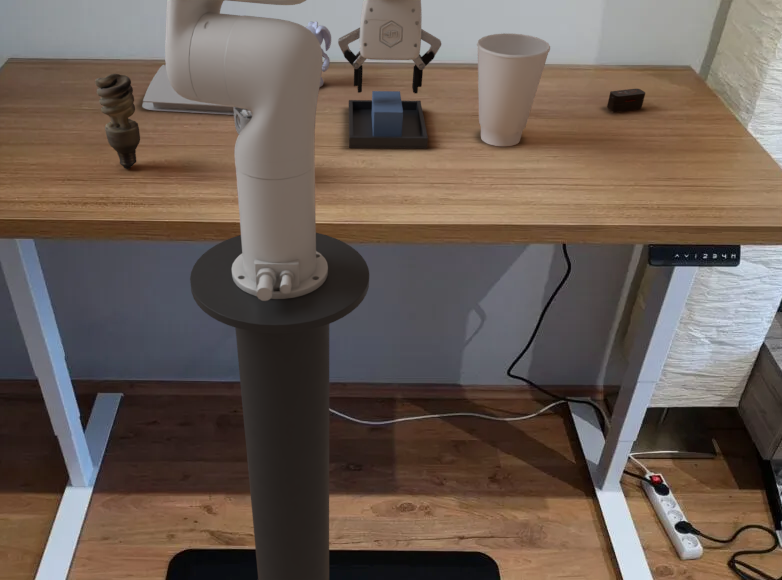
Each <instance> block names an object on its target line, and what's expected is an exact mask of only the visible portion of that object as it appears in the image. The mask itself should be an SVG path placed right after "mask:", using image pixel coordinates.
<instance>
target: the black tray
mask: <svg viewBox="0 0 782 580" xmlns="http://www.w3.org/2000/svg"><path fill="white" fill-rule="evenodd" d="M401 102H402V108H403V122H402V136H373V128H372V99H348V148H349V149H408V150H409V149H411V150H412V149H415V150H416V149H418V150H419V149H420V150H421V149H422V150H426V149H428V144H429V143H428V142H429V136H428V131H427V127H426V121H425V117H424V113H423V112H424V111H423V107H422V102H421V100H401Z"/></svg>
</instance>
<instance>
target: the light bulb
mask: <svg viewBox="0 0 782 580" xmlns="http://www.w3.org/2000/svg"><path fill="white" fill-rule="evenodd" d="M94 85H95V86H96V87H97V88H96V94H97V95H98V96H99V97H100V98H99V100H98V103H99V104H100V105H101V106H102V107H101V108H100V112H101V113H102V114H104V115H106V116H108V117H109V119H110V121H109V122H107V123H106V124H105V126H104V132H105V135H106V139H107V142H108V144H109V146H110V147H111V148H113V150H115V152H116V154H117V156H118V159H119V164H120V165H121V166H122V167H123V169H126V170H130V169H131V168H132V167H133V166H134V165H135V164H136V163H137V154H136V152H137V151H136V150H137V148H138V146H139V145H140V141H141V133H140V127H139V123H138V122H137V121H136V120H133V119H131V118H130V117H131V116H133V115H134V114H135V113H136V112H135V111H136V106H135V103H134V102H135V97H134V95H133V92H134V88H133V86H132V80H131V78H130V77H129V76H128V75H125V74H120V73H110V74H108V75H106V76H105V77H97V78H96V79H95V80H94Z"/></svg>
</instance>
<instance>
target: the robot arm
mask: <svg viewBox="0 0 782 580" xmlns="http://www.w3.org/2000/svg"><path fill="white" fill-rule="evenodd" d="M225 1H227V2H238V3H239V2H241V3H250V4H263V5H273V6H295V5H300V4H302V3H304V2H306V1H307V0H166V10H165V11H166V13H165V14H166V15H165V37H164V38H165V39H164V60H165V61H164V62H165V65H166V71H167V76H168V79H169V82H170V84H171V86H172V88H173V89H174V91H175V92H176V93H178V94H179V95H180V96H182V97H184V98H186V99H189V100H192V101H197V102H204V103H210V104H218V105H225V106H233V107H238V108H243V109H247V110H250V111H251V112H252V118H251V120H250V121H249V122H248V123H247V125H246V126H245V127H244V128H243V129H242V131H241V132H240V134H237V135H238V136H237V137H236V139H235V144H234V150H233V151H234V152H233V153H234V155H233V156H234V166H235V174H236V175H235V177H236V189H237V190H236V191H237V201H238V202H237V203H238V214H239V228H240V229H239V230H240V235H241V242H242V254H240V255H239V256H238V257H237V258H236V259H235V261H234V263H233V265H232V278H233V280H234V282H235V284H236V285H237V286H238V287H239V288H240V289H242V290H243V291H245V292H247V293H249V294H251V295H254V296H257V297H258V299H260V300H262V301H267V300H270V299H288V298H295V297H299V296H303V295H305V294H308V293H310V292H312V291H314V290H316V289H317V288H319V287H320V286H321V285H322V284H323V283H324V282H325V280H326V278H327V276H328V265H327V261H326V260H325V258H324V257H323V256H322V255H321V254H320V253H319V252H317V251H316V233H317V221H316V220H317V219H316V216H317V215H316V152H315V151H316V145H315V143H316V119H317V118H316V117H317V108H318V107H317V106H318V101H319V100H318V99H319V92H320V88H321V87H320V81H321V77H322V73H323V71H322V65H323V56H322V49H323V48H322V45H320V43H319V41H318V39H317V38H316V36H315V35H314V34H313V33H312V32H311V31H310V30H309V29H307V28H306V27H307V26H304V25H302V24H299V23H297V22H294V21H291V20H286V19H280V18H272V17H263V16H255V15H240V14H239V15H238V14H230V13H221V9H222V6H223V3H224V2H225ZM422 16H423V15H422V0H362V6H361V14H360V24H359V27H357V28H356V29H354V30H352V31H351V32H348V33H346V34H345V35H342V36H341V37H339V38H338V40H337V44H338V47H339V48H340V50H341V52H342V54H343V57H344V58H345V60H346V61H347V62H348V63H349V64H350V65H351V66H352V68H353V87H357V93H358V94H361V93H362V92H363V72H364V70H363V64H364V63H365V61H366V60H372V61H373V60H374V61H375V60H376V61H412V62H413V63H414V65H413V70H412V71H413V72H412V83H411V85H412V86H411V89H412V93H414V94H418V92H419V91H418V90H419V88H421V87H423V74H424V70H425V68H426V66H427V65H429V64H430V63H431V62H432V61H433V60H434V59H435V57H436V55H437V53H438V52H439V50H440V48H441V47H442V41H441V39H440V38H438V37H436V36H435V35H433V34H431V33H429V32H428V31H426V30H425V29H422ZM357 40H359V41H358V42H359V43H358V44H359V45H358V47H359V51H358V52H357V53H356V54H355V53H354V52H353V51H352V50H351V48H350V47H349V45H350V44H352V43H353V42H355V41H357ZM422 41H423V42H425V43H427V44H429V45H430V47H429V49H428V50H427V51H426V52H425V53H424V54H423V55H421V53H420V52H421V47H422V46H421V45H422ZM321 48H322V49H321Z"/></svg>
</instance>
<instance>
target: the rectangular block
mask: <svg viewBox="0 0 782 580" xmlns="http://www.w3.org/2000/svg"><path fill="white" fill-rule="evenodd" d="M371 93H372V94H371V96H372V97H371V100H372V128H373V136H402V122H403V108H402V102H401V101H402V96H401V91H399V90H397V91H395V90H392V91H391V90H372V92H371Z"/></svg>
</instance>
